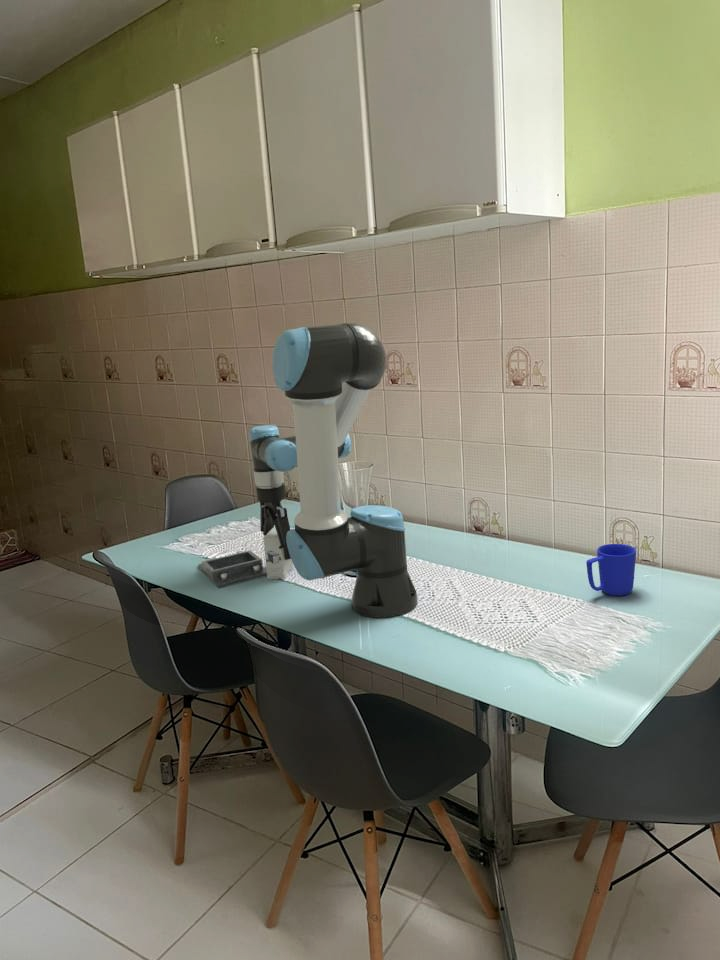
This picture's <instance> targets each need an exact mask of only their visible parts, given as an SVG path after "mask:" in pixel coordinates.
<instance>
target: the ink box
mask: <svg viewBox="0 0 720 960" xmlns="http://www.w3.org/2000/svg"><path fill="white" fill-rule="evenodd" d="M279 546H281V544H280V541H279V538H278V535H277V532H276V528H275V527H274V528H272V529H271V530H270V531H269V532H268V533H267V534H266V535H265V536H264V535H263V548H264V549H263V550H264V557H265V559H264V560H265V566H266V567H265V568H266V570H267V576H266V577H267V579H268V580H280V579H279V578H284V577H285V576H286V575H288V574H289V573H290V572H291V571H290V570H289V571H290V572H289V571H285V572H283V570H282V561H281V553H280V549H279ZM286 577H287V576H286ZM286 577H285V578H286ZM285 578H284V579H285Z"/></svg>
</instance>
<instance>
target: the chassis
mask: <svg viewBox="0 0 720 960" xmlns="http://www.w3.org/2000/svg"><path fill="white" fill-rule="evenodd" d="M197 566H198V568H199V569H200V570H201V571H202V572H203V573H204V574H205V576H207V577H208V578H209V580H211V582H212V583H213V584H214V585H215V586H216V587H217V588H218V589H219V588H224V587H228V586H231V585H235V584H239V583H243V582H247V581H252V580H256V579H259V578H262V577H267V570H266V569H265V568H264V567H263V560H262V558H260V557H259V556H258V555H257V554H256V553H254V552H253V551H251V549H250V550H246V551H241V550H239V551H236V553H234V554H232V553H231V554H229V555H224V556H219V557H216V558H211V557H210V558H206V559H205V560H203V561H201V563H198V565H197Z"/></svg>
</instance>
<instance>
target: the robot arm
mask: <svg viewBox="0 0 720 960" xmlns="http://www.w3.org/2000/svg"><path fill="white" fill-rule="evenodd" d="M272 354H273V355H272V373H273V375H274V379H273V380H274V382H275V384H276V387H277V388H278V389H279V390H281V391H283V392H284V395H285V396H284V397H285V398H286V399H287V400H288V401H289V402H290V403H291V404H292V405H293V421H294V433H295V435H293V436H288V437H287V436H285V437H281V436H280V432H279V428H278V426H277V425H274V424H270V425H269V424H267V425H266V424H265V425H258V426H255V427H252V428H250V430H249V444H250V451H251V458H252V459H251V460H252V466H253V476H254V477H253V478H254V485H255V486H257V487H256V488H255V489H256V497H257V501H258V502H259V506H260V507H259V508H260V532H261V533H262V535H263V537H264V536H265V535H266V534H267V533H268V532H269V531H270V530H271V529H272V528H276V532H277V535H278V538H279V541H280V544H281V546H279V549H280V553H281V561H282V570H283V572H285V571H289V570H291V571H292V570H294V568H295V571H296V572H297V574H298V575H299V576H300V577H301V578H302V579H303V580H305V581H312V580H318V579H322V580H324V579H325V578H327V577H331V576H336V575H340V574H343V573H347V572H348V573H349V572H351V571H355V570H356V578H355V583H354V588H353V591H352V595H351V605H352V609H353V611H354V612H356V613H357V614H359V615H360V616H364V617H368V618H391V617H396V616H400V615H403V614H406V613H409V612H410V611H412V610H414V609H415V608H416V606H417V605H418V592H417V590H416V588H415V585H414V582H413V580H412V578H411V575H410V573H409V572H408V571H409V570H408V560H407V544H406V533H405V532H406V528H405V523H404V517H403V514H402V512H401V511H400V510H398V509H396V508H394V507H390V506H384V505H376V504H375V505H372V504H370V505H361V506H356V507H353V508H352V509H351V511H350V514H349V515H350V517H349V515H348V514H347V513H346V512H345V511H344V510H343V509H342V508H341V492H340V491H341V490H340V488H341V487H340V470H339V459H343V458H347V457H348V456H349V455H350V453H351V451H352V449H351V448H352V441H351V436H350V432H351V429H352V427H353V426H354V424H355V421H356V420H357V417H358V416H359V413H360V412H361V410H362V408H363V406H364V404H365V402H366V400H367V397H368V396H369V394H370V392H371V390H374V389H375V388H377V387H378V386H379V384H380V383H381V381H382V379H383V377H384V375H385V371H386V368H387V355H386V349H385V347H384V344H383V343H382V341H381V339H380V338H379V336H378V335H377V334H376V333H375V332H373V331H372V330H371V329H370V328H369V327H367V326H364V325H363V324H360V323H354V322H353V323H352V322H345V323H341V324H340V323H339V324H329V325H315V326H306V327H305V326H301V327H299V328H293V329H287V330H284V331H283V332H281V333H280V334H279V336H278V337H277V340H276V342H275V344H274V348H273V351H272ZM296 467H297V473H298V474H297V476H298V490H299V491H298V493H299V505H300V511H299V512H298V514H297V515H295V517H294V521H293V522H294V528H292V529H291V526H290V523H289V517H288V511H287V508H286V507H283V505H282V503H281V502H282V501H283V500H284V499H286V497H287V492H286V485H285V484H284V482H285V477H284V474H285V473H287V472H290V471H293V470H294V469H295V468H296Z"/></svg>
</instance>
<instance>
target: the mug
mask: <svg viewBox="0 0 720 960" xmlns="http://www.w3.org/2000/svg"><path fill="white" fill-rule="evenodd" d="M596 553H597V556H595V557H592V558H590V559H588V560H586V570H587V573H586V574H587V580H588V583H589V587H591V589H592V590H594V591H597V592H598V591H603V593H605V594H606V595H609V596H615V597H617V596H619V597H622V596H626V595H629V594H631V592H632V591H633V588H634V582H635V581H634V579H635V572H636V571H635V569H636V559H637V558H636V557H637V550H636V548H635V547H633V546H632V545H628V544H624V543H623V544H622V543H608V544H603V545H600V546H599V547H598V548H597V549H596ZM596 562H597V563H598V564H597V565H598V574H599V583H600V584H599V586H596V585H595V581H594V575H593V564H595V563H596Z"/></svg>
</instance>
